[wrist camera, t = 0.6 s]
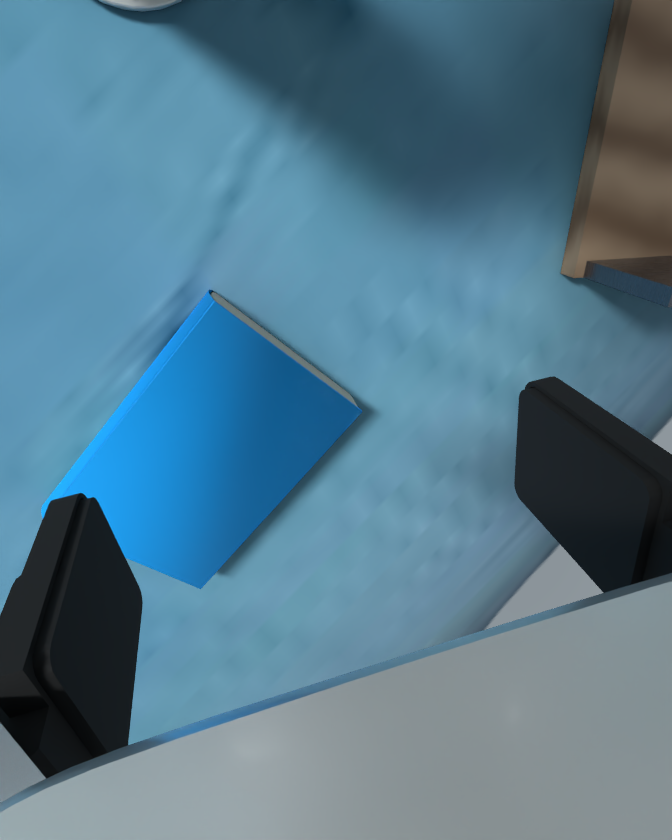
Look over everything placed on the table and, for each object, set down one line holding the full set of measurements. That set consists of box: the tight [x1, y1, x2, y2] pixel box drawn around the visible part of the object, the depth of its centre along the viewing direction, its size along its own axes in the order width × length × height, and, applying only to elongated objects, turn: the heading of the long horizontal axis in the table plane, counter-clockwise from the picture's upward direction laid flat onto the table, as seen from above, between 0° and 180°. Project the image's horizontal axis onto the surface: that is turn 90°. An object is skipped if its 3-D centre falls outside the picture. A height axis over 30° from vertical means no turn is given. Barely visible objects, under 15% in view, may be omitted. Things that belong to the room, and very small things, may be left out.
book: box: [41, 290, 362, 589], centre depth 48 cm, size 17×4×25 cm
